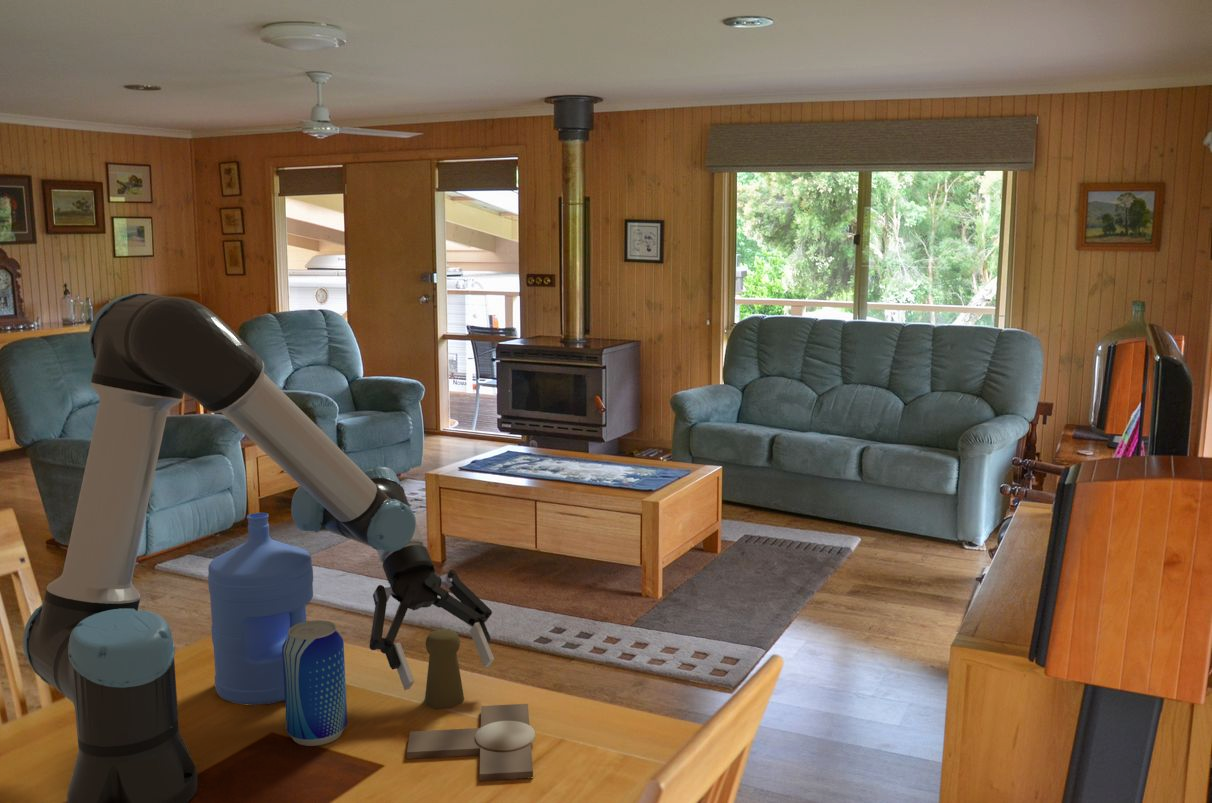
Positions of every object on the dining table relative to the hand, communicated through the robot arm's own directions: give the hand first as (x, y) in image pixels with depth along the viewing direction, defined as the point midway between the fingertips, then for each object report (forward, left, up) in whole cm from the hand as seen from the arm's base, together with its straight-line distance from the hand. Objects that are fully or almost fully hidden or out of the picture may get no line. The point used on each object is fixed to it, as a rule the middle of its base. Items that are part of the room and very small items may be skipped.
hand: (450, 674), depth 159 cm
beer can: (-8, -19, -5) cm, 21 cm away
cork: (-2, 0, -5) cm, 5 cm away
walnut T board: (+12, -7, -5) cm, 14 cm away
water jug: (-28, -14, -5) cm, 31 cm away
